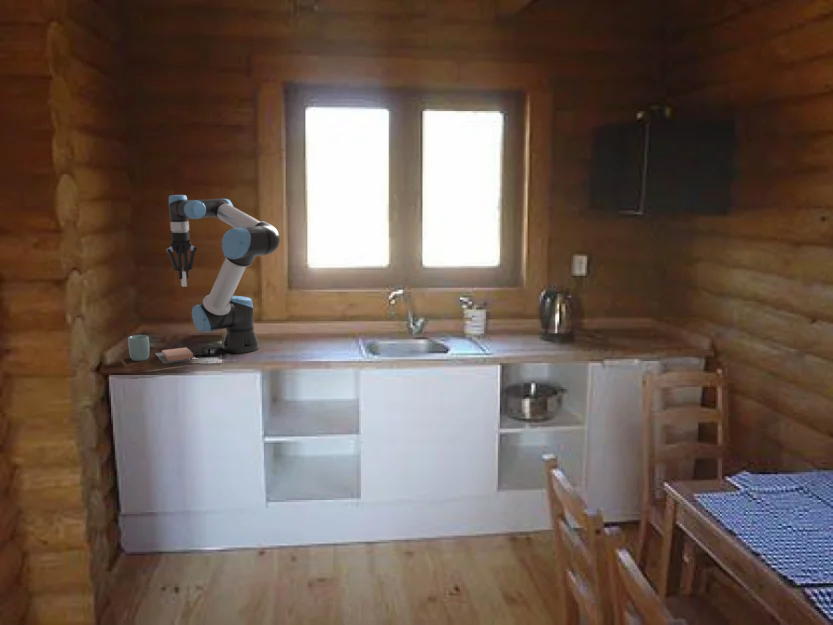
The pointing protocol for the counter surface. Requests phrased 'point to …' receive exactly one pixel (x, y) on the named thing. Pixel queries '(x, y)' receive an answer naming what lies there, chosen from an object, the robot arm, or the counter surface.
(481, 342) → the counter surface
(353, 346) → the counter surface
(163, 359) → the mat
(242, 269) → the robot arm
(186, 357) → the tile
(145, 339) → the cup
